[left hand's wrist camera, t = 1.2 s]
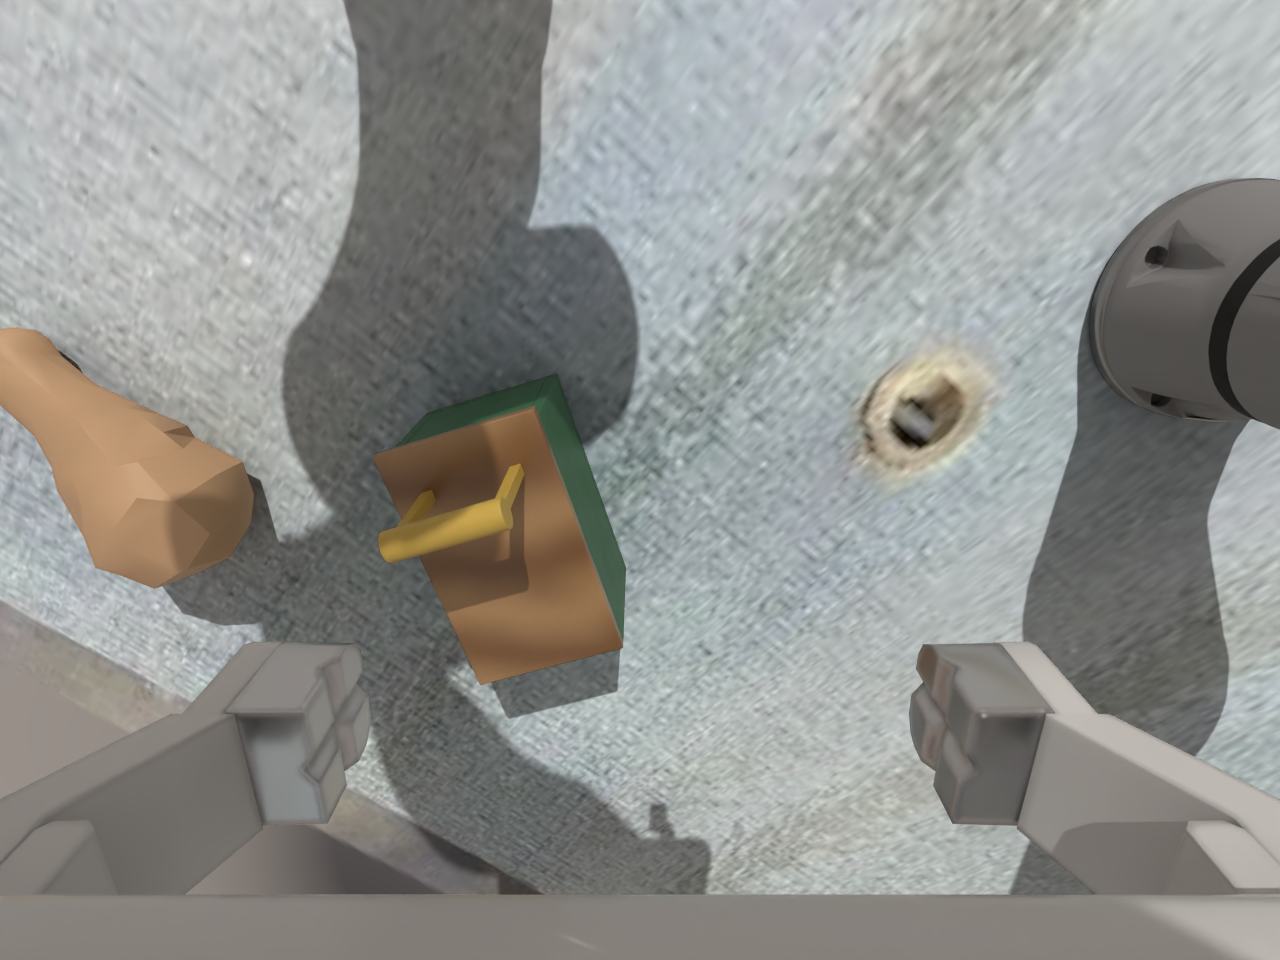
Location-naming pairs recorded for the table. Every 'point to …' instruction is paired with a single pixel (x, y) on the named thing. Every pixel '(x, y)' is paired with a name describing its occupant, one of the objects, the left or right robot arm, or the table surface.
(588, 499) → the chest
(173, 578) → the squash
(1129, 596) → the table surface
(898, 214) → the table surface
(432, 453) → the lid
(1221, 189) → the right robot arm
